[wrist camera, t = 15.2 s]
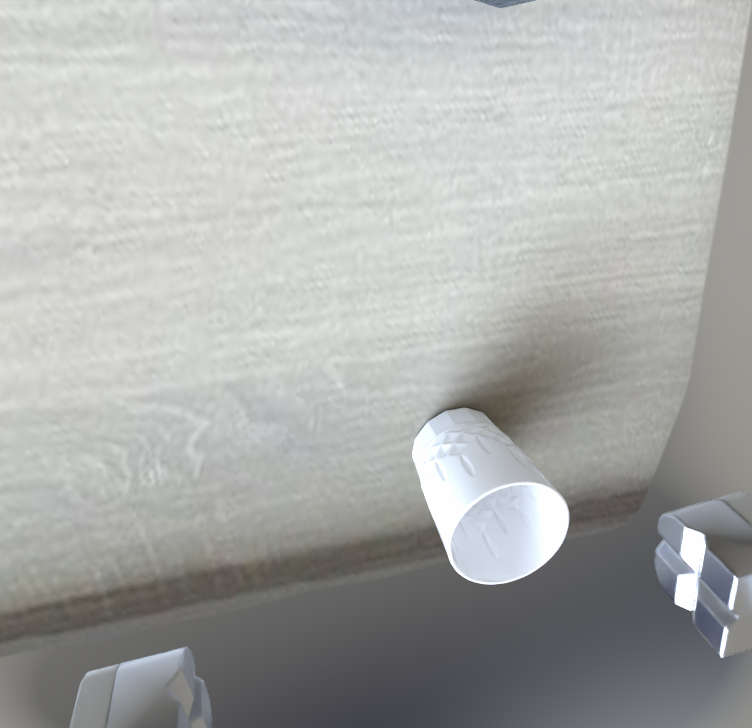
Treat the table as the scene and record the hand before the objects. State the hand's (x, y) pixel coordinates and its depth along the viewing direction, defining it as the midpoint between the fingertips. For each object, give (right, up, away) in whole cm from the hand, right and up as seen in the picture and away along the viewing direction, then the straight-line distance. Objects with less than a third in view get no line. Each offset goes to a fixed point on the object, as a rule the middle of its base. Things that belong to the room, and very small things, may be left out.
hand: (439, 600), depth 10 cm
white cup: (+5, -2, +36) cm, 36 cm away
